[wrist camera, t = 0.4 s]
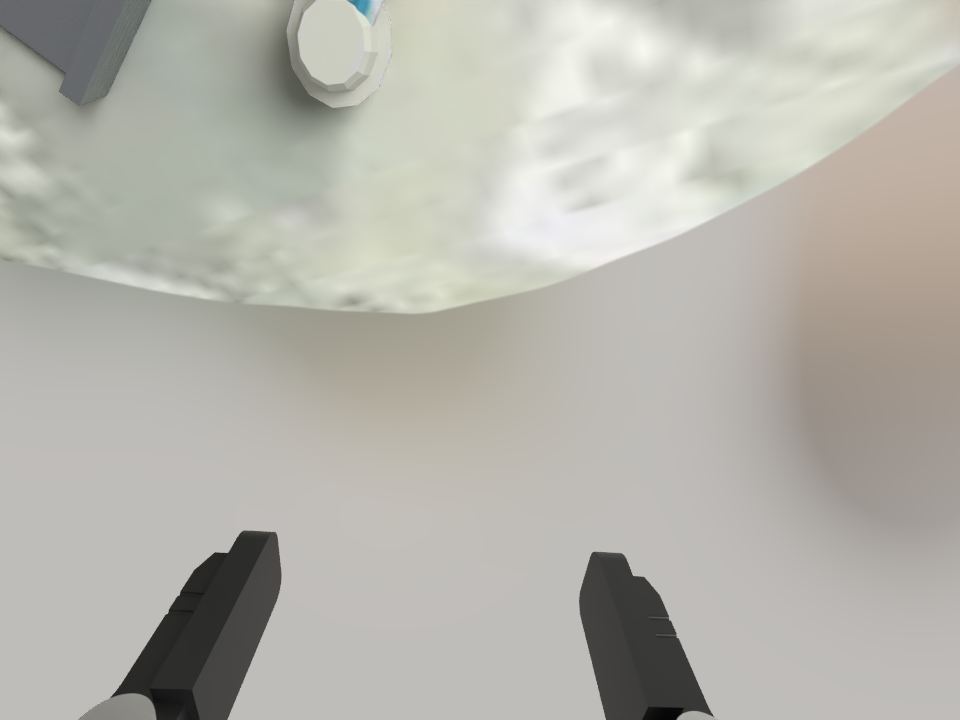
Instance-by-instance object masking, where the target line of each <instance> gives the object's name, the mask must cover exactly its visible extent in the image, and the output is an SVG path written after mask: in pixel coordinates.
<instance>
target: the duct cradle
mask: <svg viewBox="0 0 960 720" xmlns="http://www.w3.org/2000/svg"><path fill="white" fill-rule="evenodd" d="M150 2H151V0H0V25H1V26H2V27H4V28H5V29H6V30H8V31H9V32H10V33H12V34H13V35H14V36H16V37H17V38H19V39H20V40H21V41H23V42H24V43H25V44H27V45H28V46H29V47H31V48H32V49H34V50H35V51H36V52H38V53H39V54H40V55H42V56H43V57H44V58H46V59H47V60H49V61H50V62H51V63H53V64H54V65H55V66H57V67H58V68H59V69H61V70H62V71H64V72H65V73H66V75H65V78H64V80H63V83H62V85H61V88H60V90H59V92H60V93H62V94H63V95H64V96H66V97H67V98H69V99H70V100H71V101H73V102H74V103H76V104H77V105H79V106H80V105H83V104H85V103H88V102H90V101H93V100H95V99H98V98H100V97H103V96H105V95H107V94H108V92H109V89H110V87H111V85H112V83H113V81H114V79H115V77H116V74H117V72H118V70H119V68H120V66H121V64H122V62H123V59H124V57H125V55H126V53H127V51H128V49H129V47H130V44H131V42H132V40H133V38H134V36H135V34H136V32H137V29H138V27H139V25H140V23H141V21H142V19H143V17H144V14H145V12H146V10H147V8H148V6H149V4H150Z"/></svg>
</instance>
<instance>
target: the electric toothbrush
mask: <svg viewBox="0 0 960 720" xmlns="http://www.w3.org/2000/svg"><path fill="white" fill-rule="evenodd" d="M383 2H384V0H295V1H294V4H293V8H292V12H291V15H290V19H289V22H288V26H287V29H286V32H287V39H288V46H289V53H290V61H291V67H292V68H293V70H294V72H295V73H296V75H297V76H298V78H299V80H300V81H301V83H302V85H303V86H304V88H305V89H306V91H307V93H308V94H309V95H311V96H312V97H314V98H316V99H318V100H319V101H321V102H323V103H325V104H327V105H328V106H330V107H332V108H336V107H345V106H354V105H359V104H360V103H361V102H362V101H363V100H365V99H366V98H367V97H368V96H369V95H370V94H371V93H372V92H374V91H375V90H376V89H377V88H378V87H379V86H380V85H381V82H382V80H383V77H384V74H385V72H386V69H387V67H388V64H389V61H390V59H391V56H392V46H391V20H390V18H389V15H388V13H387V11H386V9H385V7H384V5H383Z"/></svg>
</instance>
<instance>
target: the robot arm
mask: <svg viewBox="0 0 960 720" xmlns="http://www.w3.org/2000/svg"><path fill="white" fill-rule="evenodd" d="M280 585H281V567H280V556H279V547H278V538H277V534H276V533H275V532H261V531H243V532H241V533H240V534H239V536H238V537H237V539H236V541H235V542H234V544H233V546H232V548H231V550H230V551H229V553H216V552H215V553H214V554H213V555H212V556H210V557H209V558H208V559H207V560H206V561H204V563H202V564H201V565H200V566H199V567H197V568H196V569H195V570H194V571H193V573H192V575H191V576H190V578H189V579H188V581H187V582H186V584H185V586H184V587H183V589H182V590H181V592H180V596H178V597H177V598H176V600H175V601H174V603H173V604H172V606H171V607H170V609H169V613H168V614H167V615H165V617H164V618H163V620H162V621H161V623H160V625H159V626H158V628H157V629H156V631H155V632H154V634H153V635H152V637H151V639H150V640H149V642H148V643H147V645H146V646H145V648H144V650H143V651H142V653H141V654H140V656H139V657H138V659H137V660H136V662H135V663H134V665H133V667H132V668H131V670H130V671H129V673H128V675H127V676H126V678H125V679H124V681H123V682H122V684H121V685H120V686H119V688H118V689H117V691H116V692H115V693H114V694H113V695H112V696H111V698H110V699H108V700H105V701H103V702H101V703H100V704H98V705H97V706H95V707H93V708H92V709H90V710H89V711H88V712H86V713H85V714H84V715H83V716H82V717H80V719H78V720H227V719H228V717H229V714H230V712H231V709H232V707H233V704H234V702H235V700H236V697H237V695H238V692H239V690H240V688H241V685H242V683H243V680H244V678H245V676H246V673H247V671H248V668H249V666H250V664H251V661H252V659H253V656H254V654H255V652H256V649H257V647H258V644H259V642H260V639H261V637H262V635H263V632H264V630H265V628H266V625H267V623H268V620H269V618H270V616H271V613H272V611H273V608H274V606H275V603H276V601H277V598H278V594H279V590H280ZM579 599H580V600H579V604H580V615H581V620H582V624H583V628H584V632H585V636H586V640H587V644H588V648H589V652H590V656H591V660H592V664H593V668H594V673H595V676H596V681H597V685H598V689H599V692H600V697H601V701H602V705H603V709H604V713H605V717H606V720H717V719H716V718H714V716H713V714H712V713H711V711H710V709H709V707H708V705H707V703H706V701H705V698H704V696H703V694H702V692H701V689H700V687H699V685H698V682H697V680H696V678H695V676H694V673H693V671H692V668H691V666H690V664H689V662H688V659H687V657H686V655H685V652H684V650H683V648H682V645H681V643H680V641H679V639H678V638H677V637H676V632H675V629H674V627H673V625H672V622H671V621H669V615H668V614H667V611H666V609H665V606H664V604H663V602H662V600H661V598H660V595H659V594H658V593H657V592H656V590H655V589H654V588H653V587H652V586H651V584H650V583H649V582H648V581H647V580H646V579H645V577H638V576H637V577H636V576H633V575H632V572H631V570H630V567H629V564H628V562H627V560H626V558H625V556H624V555H623V554H621V553H606V552H593V553H592V554H591V557H590V560H589V563H588V567H587V570H586V574H585V577H584V580H583V584H582V587H581V591H580V598H579Z"/></svg>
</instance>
